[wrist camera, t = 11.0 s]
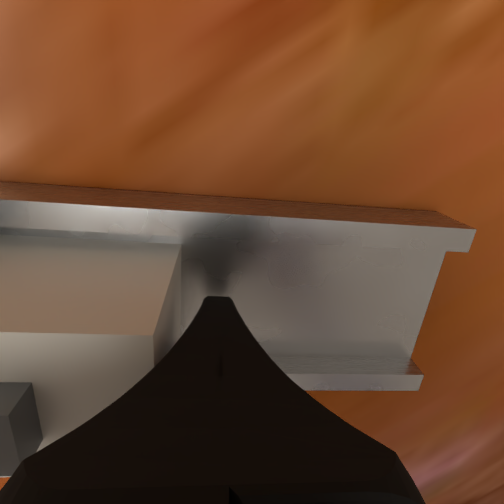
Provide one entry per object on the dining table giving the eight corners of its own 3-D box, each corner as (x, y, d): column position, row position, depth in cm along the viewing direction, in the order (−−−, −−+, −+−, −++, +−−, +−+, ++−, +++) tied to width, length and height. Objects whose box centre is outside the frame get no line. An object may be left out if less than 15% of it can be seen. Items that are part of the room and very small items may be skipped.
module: (181, 243, 11) (144, 363, 6) (180, 342, 13) (149, 509, 7) (-13, 233, 10) (-261, 358, 5) (10, 338, 12) (-162, 521, 7)
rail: (435, 211, 13) (565, 269, 8) (392, 353, 15) (470, 463, 10) (-48, 178, 11) (-263, 227, 6) (-6, 347, 13) (-133, 478, 9)
